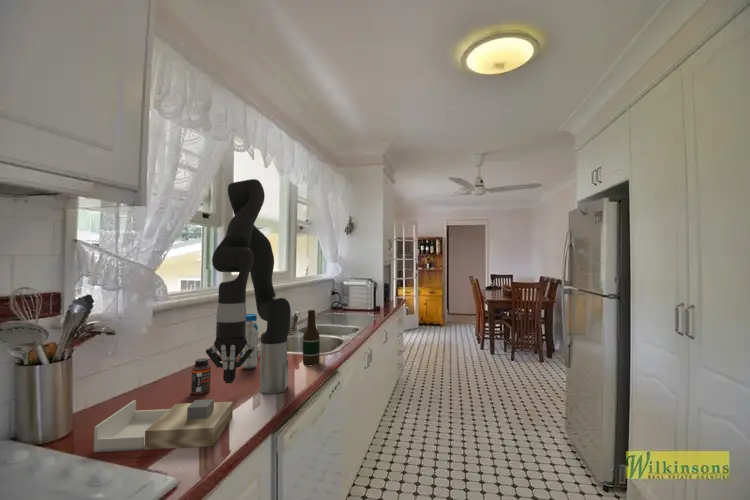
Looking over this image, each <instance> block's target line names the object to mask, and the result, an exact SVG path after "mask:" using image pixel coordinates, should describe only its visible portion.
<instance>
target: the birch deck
mask: <svg viewBox="0 0 750 500" xmlns="http://www.w3.org/2000/svg"><path fill="white" fill-rule="evenodd" d="M192 403H193V402H191V403H187V402H185V403H175V404H174V405H173V406H171V407H170V408H168V409H169V410H168V411H167V412H166V413H165V414H164V415H163V416H161V417H160V418H159V419H158V420H157V421H156V422H155V423H154V424H152V425H151V426H150V427H149V428H148V429H147V430H146V431H145V448H144V450H163V449H165V450H166V449H179V448H180V449H182V448H184V447H186V448H202V447H203V448H204V447H214V445H215V444H214V443H216V442H217V441H218V439H219V438H220V437H221V434H222V433H223V431H225V429H226V427H227V426H228V424H229V423H230V421H231V420H232V419H233V411H234V410H233V406H234V402H233V401H217V402H215V401H214V410H213V412H212V413H211V414H210V415H209V416H208V418H205V419H187V408H188V407H189V406H190V405H191V404H192ZM184 449H185V448H184Z"/></svg>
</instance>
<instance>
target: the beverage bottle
mask: <svg viewBox="0 0 750 500" xmlns="http://www.w3.org/2000/svg"><path fill="white" fill-rule="evenodd" d="M257 318H258V317H257V314H255V313H246V321H254V324H255V325H254V328H255V329H256V331H257V341H256V356H257V357H258V354H259V353H258V343H259V342H258V341H259V337H258V336H259V331H258V330H259V326H258V324H257V323H256V322H257V320H258V319H257ZM242 354H243V350H242V351H241V352H240V354H239V357H240V359H241V358H242Z"/></svg>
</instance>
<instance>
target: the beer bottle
mask: <svg viewBox="0 0 750 500" xmlns="http://www.w3.org/2000/svg"><path fill="white" fill-rule="evenodd" d="M316 313H317V312H316V310H315V309H308V310H307V325H306V328H305V330H304V332H303V335H302V364H305V365H304V366H306V365H314V364H318V363H319V364H320V345H321V344H320V343H321V341H320V340H321V339H320V333H319V331H318V329H317V326H316ZM319 364H318V365H319Z"/></svg>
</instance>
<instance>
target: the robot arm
mask: <svg viewBox="0 0 750 500" xmlns="http://www.w3.org/2000/svg"><path fill="white" fill-rule="evenodd" d="M262 184H263V183H261V182H260V180H259V179H256V178H255V179H254V178H252V179H246V180H240V181H235V182H231V183H229V184H228V186H227V195H228V199H229V203H230V205H231V209H232V211H233V215H234V216H232V218H231V220H229V224H228V226H227V230H226V233H225V236H224V237H223V238H222V241H220V243H219V244H218V245H217V247H216V248H215V250H214V252H213V254H212V259H211V260H212V261H211V264H212V267H213V269H214V270H215V271H217V272H219V273H238V275H237V276H236V278H234V279H230V280H225V281H222V282H220V283H219V284H218V285H219V286H218V302H217V310H216V316H215V317H216V322H215V323H216V326H215V330H216V331H215V340H214V342H213V345H211V346H210V347H208V348H206V350H205V354H207V356H208V357H209V358H210V360H211V362H213V364H214V366H215V367H216V368H222V370H223V382H225V384H232V383H233V382H234V381H235V380H236V378H237V377H236V375H237V368H240V367H242V364H243V363H244V362H245V361H246V359H247V358H248V357H249V356H250V354H251V353H252V352H253V351H254V347H250V346H249V345H248V344H247V340H246V338H245V332H246V314H247V306H246V300H247V299H246V294H247V284H248V280H249V279H248V278H249V276H250V278H251V282H252V286H253V291H254V299H255V305H256V311H257V314H258V316H259V318H260V319H262V320H263V321H264V322H265V321H266V330H265V331H264V332H262V334H261V335H260V360H259V361H260V367H259V368H260V371H259V372H260V373H259V374H260V375H259V379H260V380H259V391H260V392H261V393H262V394H267V395H272V394H275V395H276V394H279V393H285V392H286V391H287V388H288V386H289V385H288V382H289V378H288V377H289V360H288V337H289V334H290V331H291V330H290V329H291V314H292V313H291V312H292V311H291V304H290V302H289V300H287V299H286V298H284V297H280V296H276V295H277V294H276V292H275V289H274V286H273V273H274V267H275V257H274V252H273V248H272V244H271V241H270V240H269V238H268V237H267V236H266V235H265V234H264V232H262V231H261V230H260V229H259V228H258V227H257V226H256V225H255V223H256V220H257V218H258V216H259V214H260V212H261V210H262V208H263V205H264V202H265V190H264V186H263V185H262ZM243 348H245V350H244V353H245V354H244V355H243V357H242V358H241V357H240V359H239V355H240V352H241V351H242V350H243ZM218 353H219V354H218ZM220 355H221V356H220ZM238 359H239V360H238Z"/></svg>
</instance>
